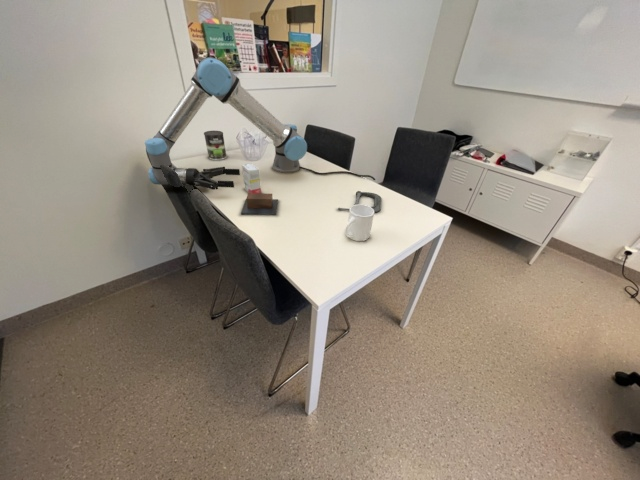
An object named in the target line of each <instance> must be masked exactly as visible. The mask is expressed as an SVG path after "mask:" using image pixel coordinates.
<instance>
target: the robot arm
mask: <svg viewBox="0 0 640 480" xmlns="http://www.w3.org/2000/svg"><path fill="white" fill-rule="evenodd" d="M241 84H242V83H241V79H240V78H239V77H238V76H237V75H236V74H235V73H234V72H232V70H230V69H229V68H228V66H227V65H226V64H225V63H224V62H222V61H221V60H219V59H218V58H215V57H212V56H207V57H204V58H202V59H201V60H200V61H199V63H198V65H197V68H196V69H195V72H194V74H193V75H192V77H191V78H190V85H189V87H188V88H187V89H186V91H185V92H184V94H183V95H182V96H181V98H180V99H179V101H178V103H177V104H176V105H175V107H174V108H173V110H172V111H171V113H170V114H169V115H168V116H167V118H166V120H165V121H164V123H163V124H162V125H161V127H160V128H159V130H158V131H157V132H156V134H155V135H154V136H153V137H152V138H148V139H146V140H145V141H144V145H145V150H146V152H147V156H148V158H149V161H150V164H151V166H152V167H150V168H149V169H148V172H147V173H148V178H149V181H150V182H151V184H154V185H157V186H159V185H161V186H169V185H168V182H167V180H166V178H165V177H164V174H163V172H162V170H161V167H160V165H161V163H162V164H165V165H166V166H169V167H170V168H172V169H173V170H174V171H175V172H176V173H177V174H178V176H179V178H180V180H181V182H182V184H183V185H184V186H183V185H182V186H183V187H185V186H195V187H201V188H206V189H209V190H212V191H215V190H216V191H218V190H219V188H235V183H234V180H217V181H216V180H214V179H213V178H215V177H219V176H223V175H225V176H241V171H240V168H226V166H219V167H212V168H211V167H210V168H202V171H199V170H198V168H194V167H188V168H187V167H174V166H173V164H172V161H171V160H172V159H171V157H170V153H171V150H172V148H173V146H174V145H175V144H176V142H177V141H178V139H179V138H180V136H181V135H182V134H183V132H184V131H185V129H186V128H187V127H188V126H189V124H190V123H191V122H192V120H193V119H194V117H195V116H196V115H197V113H198V112H199V110H200V109H201V108H202V106H204V104H205V102H206V101H207V99H209V98H212V97H214V98H216V99H217V100H218V101H220V103H222V104H223V105H224V104H229V105H230V106H231V107H232V108H234V109H235V110H236V112H237V111H238V113H239V114H241V115H242V116H243V117H244V118H245V119H246V120H248V122H250V123H251V124H253V125H254V126H255V127H256V128H257V129H259V130H260V131H261V132H262V133H263V134H265V136H267V137H268V138H269V139H270V140H272V144H273V147H274V151H275V154H274V157H273V162H272V169H273V170H274V171H276V172H278V173H281V174H291V173H296V172H299V171H300V170H304V171H308V172H311V173H314V174H317V175H320V176H321V175H323V176H324V175H331V174H348V175H349V174H350V175H353V176H356V177H359V178H371V179H372V180H373V181H376V178H375V177H374V176H372V175H370V174H358V173H355V172H352V171H346V170H338V171H328V172H318V171H315V170H313V169H310V168H308V167H304V166H301V164H300V161H299V160H301V159H303V158H304V157H305V155H306V154H307V151H308V143H307V141H306V140H305V138H304V137H302V136H301V135H300V134H299V133H298V128H297V125H296V124H289V123H286V124H285V123H284V124H283V123H282V122H281V121H280V120H279V119H278V118H277V117H276V116H275V115H273V114H272V113H271V112H270V111H269V110H268V109H267V108H266V107H265V106H264V105H263V104H262V103H260V102H259V101H258V100H257V99H256V98H255V97H254V96H253V95H252V94H250V93H249V92H248V91H247V90H246V89H245V88H244V87H243V86H242V85H241Z"/></svg>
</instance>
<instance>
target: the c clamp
mask: <svg viewBox="0 0 640 480" xmlns="http://www.w3.org/2000/svg"><path fill="white" fill-rule="evenodd" d="M355 196H356V198H355V202H354V204H353V205H358V204H359V202H360V197H363V196H364V197H369V198H372V199H374V201H373V206H370V207H371V208H372V209H373V210H374V214H375V213H379V212H380V211H381V209H382V197H381V196H380V195H379V194H377V193H374V192H370V191H369V192H367V191H360V190H357V191H356V192H355ZM337 209H338V210H341V211H350V208H344V207H338V208H337Z"/></svg>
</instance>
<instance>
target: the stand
mask: <svg viewBox="0 0 640 480" xmlns="http://www.w3.org/2000/svg"><path fill="white" fill-rule="evenodd" d="M273 197H274V196H273V193H267V192H266V193H262V192H261V193H249V192H247V196H246V198H245V200H244V203H243V206H242V209H241V212H240V215H241V216H277V213H278V206H279V199H278V198H277V199H275V198H273Z"/></svg>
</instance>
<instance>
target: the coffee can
mask: <svg viewBox="0 0 640 480" xmlns="http://www.w3.org/2000/svg"><path fill="white" fill-rule="evenodd" d="M203 136H204V139H205V146H206V151H207V156H208V159H210V160H211V161H222V160H225V159H227V157H228V156H227V151H226V144H225V138H224V132H223V131H221V130H207V131H204V132H203Z"/></svg>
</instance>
